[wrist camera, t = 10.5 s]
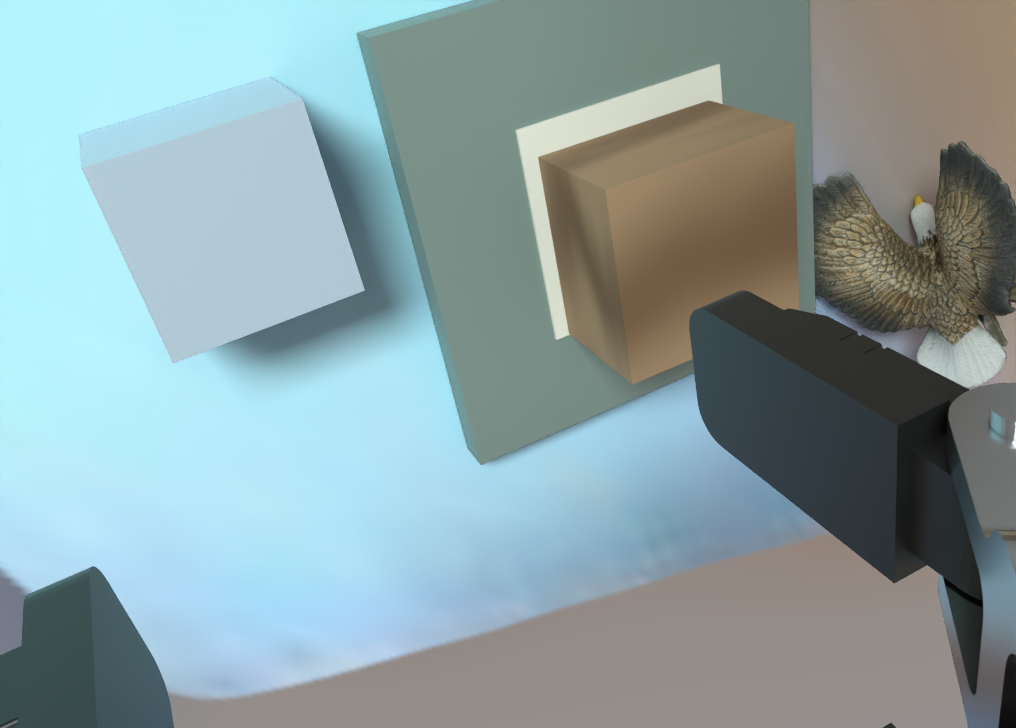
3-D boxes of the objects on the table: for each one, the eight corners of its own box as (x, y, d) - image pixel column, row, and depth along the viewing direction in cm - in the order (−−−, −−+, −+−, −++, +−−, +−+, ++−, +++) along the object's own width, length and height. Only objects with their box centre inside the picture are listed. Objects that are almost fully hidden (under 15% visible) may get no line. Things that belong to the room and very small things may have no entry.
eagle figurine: (1032, 177, 36) (947, 79, 30) (1128, 325, 33) (1055, 249, 26) (860, 279, 40) (755, 212, 34) (929, 420, 37) (826, 373, 31)
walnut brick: (537, 157, 27) (605, 189, 23) (708, 100, 28) (794, 123, 25) (568, 333, 30) (632, 384, 26) (721, 272, 31) (799, 314, 28)
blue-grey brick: (78, 133, 23) (81, 168, 19) (269, 75, 24) (302, 98, 21) (158, 307, 25) (173, 363, 22) (327, 245, 27) (364, 290, 23)
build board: (356, 33, 24) (370, 37, 23) (780, -86, 28) (808, -87, 27) (467, 447, 31) (482, 466, 30) (794, 309, 35) (817, 321, 34)
